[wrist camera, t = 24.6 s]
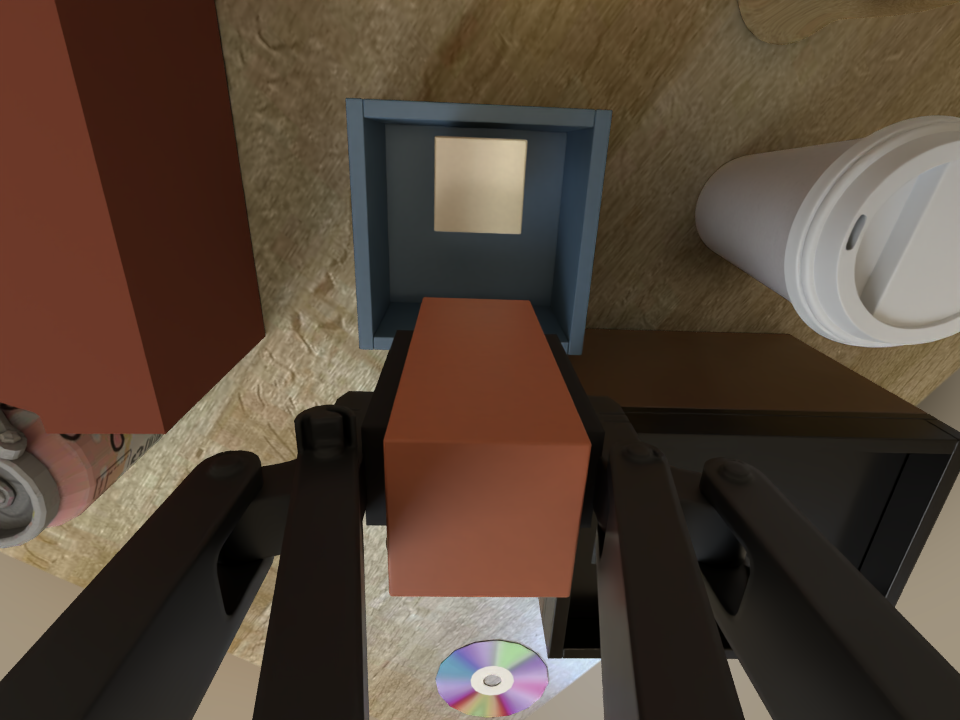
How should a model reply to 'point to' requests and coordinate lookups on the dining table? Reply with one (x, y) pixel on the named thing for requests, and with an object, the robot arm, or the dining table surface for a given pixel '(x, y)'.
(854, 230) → the coffee cup
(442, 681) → the cd
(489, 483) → the terracotta block
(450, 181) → the cream block
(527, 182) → the bin
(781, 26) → the metal tumbler
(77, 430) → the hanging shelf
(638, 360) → the pan
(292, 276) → the dining table surface
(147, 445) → the beverage can
